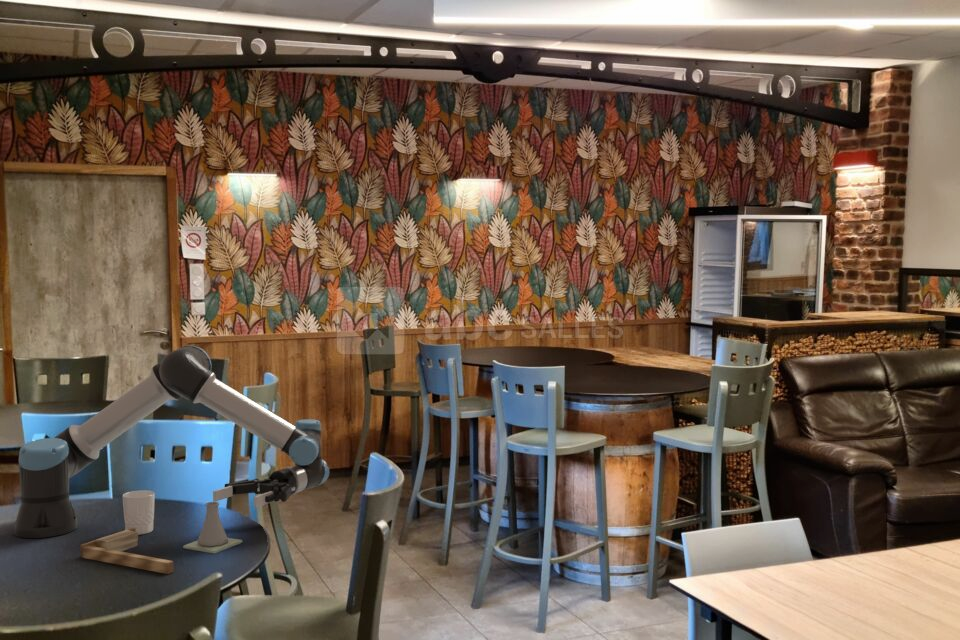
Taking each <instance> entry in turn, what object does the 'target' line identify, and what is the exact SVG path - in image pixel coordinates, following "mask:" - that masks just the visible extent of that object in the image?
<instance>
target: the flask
mask: <svg viewBox="0 0 960 640" xmlns="http://www.w3.org/2000/svg"><path fill="white" fill-rule="evenodd" d="M219 506H220V503H219V501H216V502H214V501H210V502H209V501H208V502H206V503H205V507H206V512H205V519H204V522H203V524H202V525H203V526H202V528H201V530H200V533H199V536H198V539H197V540H198V541H197V540H196V541H197V543H198V544H200V545H203V546H216V545H222V544H224V543H226V542H228V541H229V540H228V538H229V537H228V536H227V533H226V531H225V529H224V526H223V523H222V521H221V518H220V512H219Z"/></svg>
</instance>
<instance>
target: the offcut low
mask: <svg viewBox="0 0 960 640" xmlns="http://www.w3.org/2000/svg"><path fill="white" fill-rule="evenodd" d="M134 547H138V540H137V541H134V542H131V543H128V544H125V545H122V546H119V547H116V548H112V549H110V550H115V551H121V552H125V551H127V550H129V549H131V548H134Z"/></svg>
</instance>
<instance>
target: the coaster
mask: <svg viewBox="0 0 960 640" xmlns="http://www.w3.org/2000/svg"><path fill="white" fill-rule="evenodd" d="M227 538H228V540H229V541H228V542H226V543H224V544H222V545H216V546H203V545H200V544H198V543H197V541H198V539H197V540H195V541H192V542H189V543H187V544H185V545H183V547H182V548H183V549H186V550H192V551H197V552H198V551H199V552H204V553H208V554H209V553H210V554H217V553H219V552H222V551H224V550H228V549H229V548H231V547H234V546H237V545H240V544H242V543H243V539H239V538H231V537H227Z"/></svg>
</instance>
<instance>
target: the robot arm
mask: <svg viewBox="0 0 960 640" xmlns="http://www.w3.org/2000/svg"><path fill="white" fill-rule="evenodd" d="M182 398H184V399H186V400H188V401H189V402H191V403H193V404H198V403H200V404H202V405H203V406H205V407H207V408H209V409H210V410H211V411H214V412H215V413H217V414H219V415H220V416H222V417H224V418H225V419H227V420H228V421H230V422H232V423H234V424H235V425H237V426H239V427H240V428H242V429H244V430H246V431H247V432H248V433H250V434H252V435H254V436H255V437H258V438H259V439H261V440H262V441H264V442H265V443H267V444H269V445H271V446H273V447H274V448H276V449H277V450H279V451H281V452H282V453H283V454H286V455H287V456H289V458H290V459H291V461H292V462H293V463H294V465H291V466H288V467H283V468H281V469H278V470H275V471H273V472H271V473H270V475H269V476H268V478H264V479H262V480H261V479H259V478H254V479H250V480H243V481H236V482H230V483H225V484H224V487H222V488H219V489H215V490H213V491H212V502H219V501H222V500H226V499H228V498H229V499H230V498H232V497H233V495H236V496H237V495H244V494H255V496H254V497H253V507H254V508H260V507H263V506H265V505H268V504H271V503H273V502H280V500H281V502H282V503H283V502H285V503H286V502H287V500H289V498H290V497H291V496H296V494H298V493H300V492H302V491H305V490H308V489H312V488H315V487H318V486H320V485H322V484H323V483H326V481H327V480H328V478H329V477H330V467H328V463H327V462H326V461H325V460H324V459H322V458H323V457H322V424H321V421H319V420H318V419H311V418H310V419H299V420H297V421H295V422H294V425H293V424H292V423H290V422H289V421H287V420H286V419H284V418H282V417H280V416H279V415H277V414H275V413H274V412H272V411H270V410H269V409H267V408H265V407H263V406H262V405H260V404H259V403H258V402H256V401H254V400H252V399H251V398H249V397H247V396H246V395H244V394H242V393H241V392H239V391H238V390H236V389H234V388H232V387H231V386H229V385H227V384H226V383H224V381H223V382H222V380H220V379H218V378H217V377H216V374H215V372H214V371H212V361H211V358H210V356H209V354H208V353H207V352H206V351H205V349H202V348H201V347H198V346H195V345H183V346H181V347H178V348H177V349H175V350H173V351H170V352H169V353H167V354H165V356H164V357H163V359H161V360H160V361H159V362H158V363H156V364H155V365H153V366H152V367H151V371H150V375H148V376H147V377H146V378H144V380H141V382H139V383H137V385H135V386H133V387H132V388H131V389H129V390H128V391H127V392H125V393H123V395H121V396H120V397H118V398H116V399H115V400H114V401H113V402H111V403H110V404H108V405H107V406H106V407H104V408H103V409H102V410H100V411H99V412H97V413H96V414H95V415H93V416H91V417H90V418H89V419H88V420H86V421H85V422H83V423H82V424H81V425H76V424H71V425H70V426H68V427H66V429H64V430H63V431H61V432H60V433H59V434H57V435H56V436H54V437H46V438H39V439H35V440H31V441H28V442H26V443H25V444H23V445H21V447H20V449H19V453H18V454H19V455H18V465H19V466H18V467H19V470H18V471H19V490H20V491H19V492H20V494H19V495H20V505H19V508H18V511H17V515H16V519H15V522H14V525H13V535H14V536H15V537H19V538H24V539H42V538H50V537H56V536H61V535H65V534H68V533H72V532H73V531H74V530H77V528H78V518H77V515H76V512H75V510H74V507H73V505H72V502H71V499H70V479H71V478H72V477H73V476H75V475H77V474H79V473H81V472H82V471H83V470H84V469H85V468H87V466H89V465H90V464H92V463H93V462H94V461H96V460H97V459H99V457H100V451H101V449H103V448H105V447H106V446H107V445H109V444H110V443H111V442H113V441H114V440H115V439H117V438H118V437H120V436H121V435H122V434H124V433H125V432H126V431H127V432H128V430H129V429H131V428H132V427H134V426H135V425H137V424H138V423H139V422H141V421H142V420H143V419H145V418H146V417H147V416H149V415H150V414H152V413H153V412H155V411H156V410H158V409H159V408H161V406H163V405H164V404H166V403H167V402H169V401H171V400H173V401H179V400H180V399H182ZM258 489H259V490H258Z"/></svg>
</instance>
